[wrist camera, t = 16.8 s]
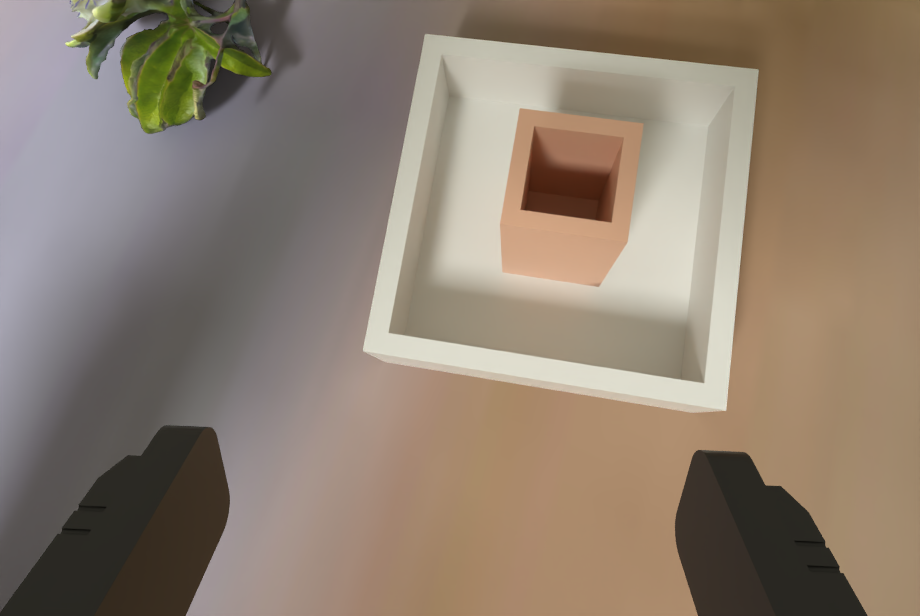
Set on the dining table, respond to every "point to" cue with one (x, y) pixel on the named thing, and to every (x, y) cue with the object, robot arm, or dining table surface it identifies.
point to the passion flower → (167, 54)
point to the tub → (568, 196)
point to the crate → (556, 302)
